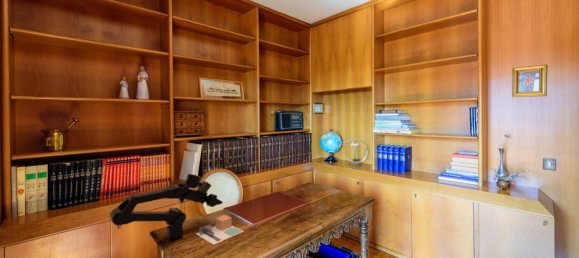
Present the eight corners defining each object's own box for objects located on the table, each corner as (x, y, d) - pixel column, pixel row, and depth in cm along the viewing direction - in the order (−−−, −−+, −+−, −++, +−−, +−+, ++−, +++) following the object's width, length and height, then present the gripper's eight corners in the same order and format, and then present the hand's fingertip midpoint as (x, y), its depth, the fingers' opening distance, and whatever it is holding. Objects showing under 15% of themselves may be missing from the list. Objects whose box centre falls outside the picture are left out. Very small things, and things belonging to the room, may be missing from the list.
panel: (213, 247, 122) (213, 238, 121) (195, 235, 132) (195, 227, 132) (243, 233, 135) (243, 225, 135) (225, 224, 146) (225, 217, 145)
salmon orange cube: (222, 230, 136) (222, 221, 135) (215, 227, 140) (215, 218, 139) (231, 226, 140) (231, 217, 140) (225, 223, 144) (224, 214, 144)
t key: (199, 233, 132) (199, 227, 131) (209, 229, 136) (209, 224, 136) (207, 238, 127) (207, 232, 126) (218, 234, 131) (218, 228, 131)
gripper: (207, 182, 132) (231, 189, 142) (190, 178, 145) (214, 185, 155) (199, 204, 128) (225, 209, 139) (183, 198, 141) (207, 204, 151)
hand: (217, 201), depth 146 cm, fingers open, 9 cm apart
